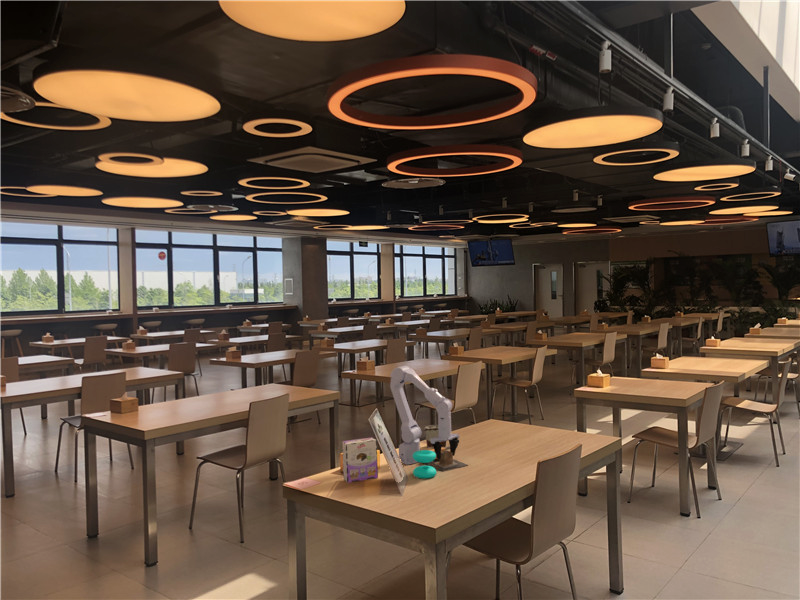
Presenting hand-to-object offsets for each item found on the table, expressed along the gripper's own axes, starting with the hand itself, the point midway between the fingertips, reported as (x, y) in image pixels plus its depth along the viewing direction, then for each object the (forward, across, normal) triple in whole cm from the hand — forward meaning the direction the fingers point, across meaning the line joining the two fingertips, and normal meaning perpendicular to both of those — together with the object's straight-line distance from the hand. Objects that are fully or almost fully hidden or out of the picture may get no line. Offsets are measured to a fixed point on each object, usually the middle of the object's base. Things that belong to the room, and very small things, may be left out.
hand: (445, 456), depth 266 cm
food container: (+4, +15, +29) cm, 33 cm away
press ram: (+2, +4, +8) cm, 9 cm away
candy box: (+4, -40, +6) cm, 41 cm away
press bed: (+4, 0, +2) cm, 4 cm away
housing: (+3, 0, 0) cm, 3 cm away
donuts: (+4, -16, -7) cm, 18 cm away
